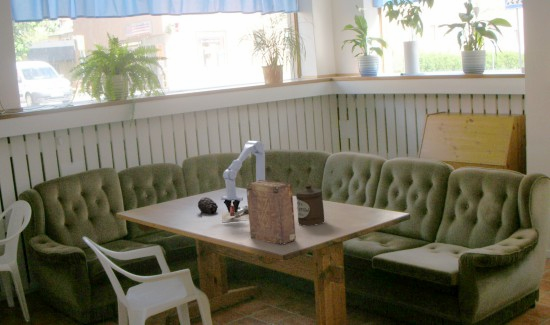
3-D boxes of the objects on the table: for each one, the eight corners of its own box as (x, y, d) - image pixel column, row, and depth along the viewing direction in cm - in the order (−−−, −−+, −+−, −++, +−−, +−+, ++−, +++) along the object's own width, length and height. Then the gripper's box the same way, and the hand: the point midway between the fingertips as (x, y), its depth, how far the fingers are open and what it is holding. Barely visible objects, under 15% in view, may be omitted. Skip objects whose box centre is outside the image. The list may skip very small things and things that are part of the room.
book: (250, 238, 384) (245, 182, 380) (263, 234, 390) (258, 179, 386) (282, 245, 365) (278, 186, 361) (296, 240, 371) (291, 183, 367)
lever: (245, 209, 445) (244, 199, 444) (251, 209, 442) (250, 200, 441) (228, 215, 430) (227, 206, 430) (234, 216, 428) (233, 206, 427)
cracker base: (254, 210, 449) (253, 204, 449) (256, 219, 426) (255, 212, 425) (221, 213, 448) (221, 207, 447) (222, 222, 424) (221, 215, 424)
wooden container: (293, 222, 411) (290, 184, 408) (317, 218, 417) (314, 180, 413) (305, 227, 397) (302, 188, 394) (329, 222, 403) (326, 184, 400)
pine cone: (209, 217, 442) (207, 201, 440) (195, 213, 456) (194, 197, 455) (224, 214, 447) (222, 198, 446) (210, 210, 462) (208, 194, 461)
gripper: (217, 190, 428) (219, 213, 430) (237, 191, 420) (239, 214, 423) (223, 188, 434) (225, 210, 436) (244, 189, 426) (246, 211, 429)
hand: (233, 212), depth 430 cm, fingers open, 4 cm apart
